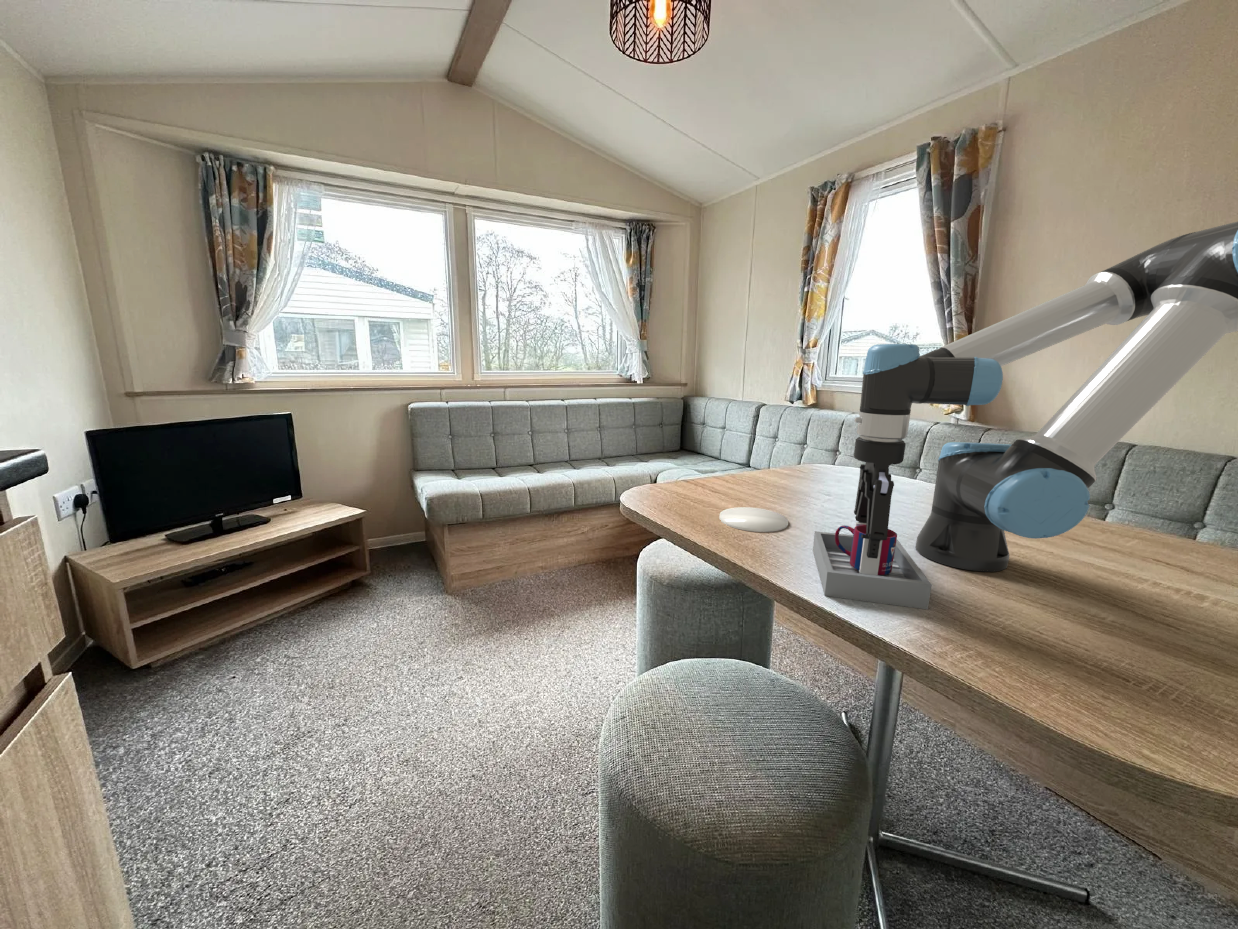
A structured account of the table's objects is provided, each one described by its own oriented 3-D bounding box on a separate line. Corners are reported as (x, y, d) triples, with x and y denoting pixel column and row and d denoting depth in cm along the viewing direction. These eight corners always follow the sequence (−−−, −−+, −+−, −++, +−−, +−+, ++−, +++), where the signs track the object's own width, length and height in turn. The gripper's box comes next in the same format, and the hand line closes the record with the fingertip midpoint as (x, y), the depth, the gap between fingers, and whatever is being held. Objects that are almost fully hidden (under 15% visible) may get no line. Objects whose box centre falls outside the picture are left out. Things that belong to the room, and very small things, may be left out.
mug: (879, 578, 82) (885, 540, 80) (825, 558, 89) (829, 523, 88) (898, 569, 85) (904, 533, 84) (844, 550, 93) (849, 517, 92)
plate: (786, 515, 122) (786, 510, 122) (789, 537, 107) (790, 531, 107) (721, 509, 126) (722, 504, 126) (716, 529, 111) (716, 524, 111)
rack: (894, 559, 94) (897, 539, 93) (927, 609, 75) (931, 584, 75) (812, 550, 98) (814, 531, 97) (824, 595, 80) (827, 571, 79)
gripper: (846, 429, 92) (833, 542, 97) (868, 446, 73) (850, 586, 78) (890, 431, 90) (874, 547, 95) (924, 449, 71) (902, 592, 76)
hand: (863, 564), depth 86 cm, fingers closed on mug, 7 cm apart
